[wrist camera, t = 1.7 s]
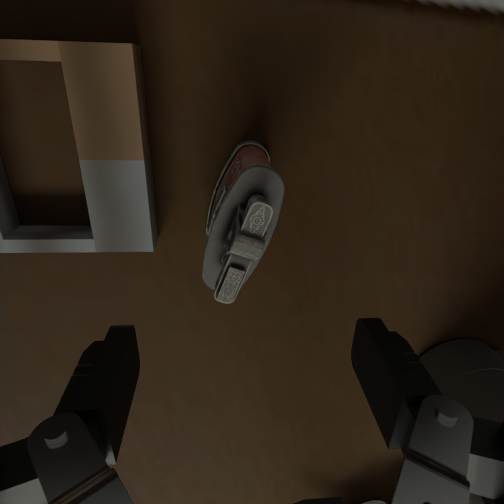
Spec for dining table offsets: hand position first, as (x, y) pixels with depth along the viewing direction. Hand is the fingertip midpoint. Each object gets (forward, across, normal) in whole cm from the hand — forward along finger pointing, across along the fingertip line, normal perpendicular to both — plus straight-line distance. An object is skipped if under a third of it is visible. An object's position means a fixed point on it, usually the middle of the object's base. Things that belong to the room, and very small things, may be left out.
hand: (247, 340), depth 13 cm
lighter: (+16, 0, 0) cm, 16 cm away
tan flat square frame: (+16, +13, -3) cm, 21 cm away
